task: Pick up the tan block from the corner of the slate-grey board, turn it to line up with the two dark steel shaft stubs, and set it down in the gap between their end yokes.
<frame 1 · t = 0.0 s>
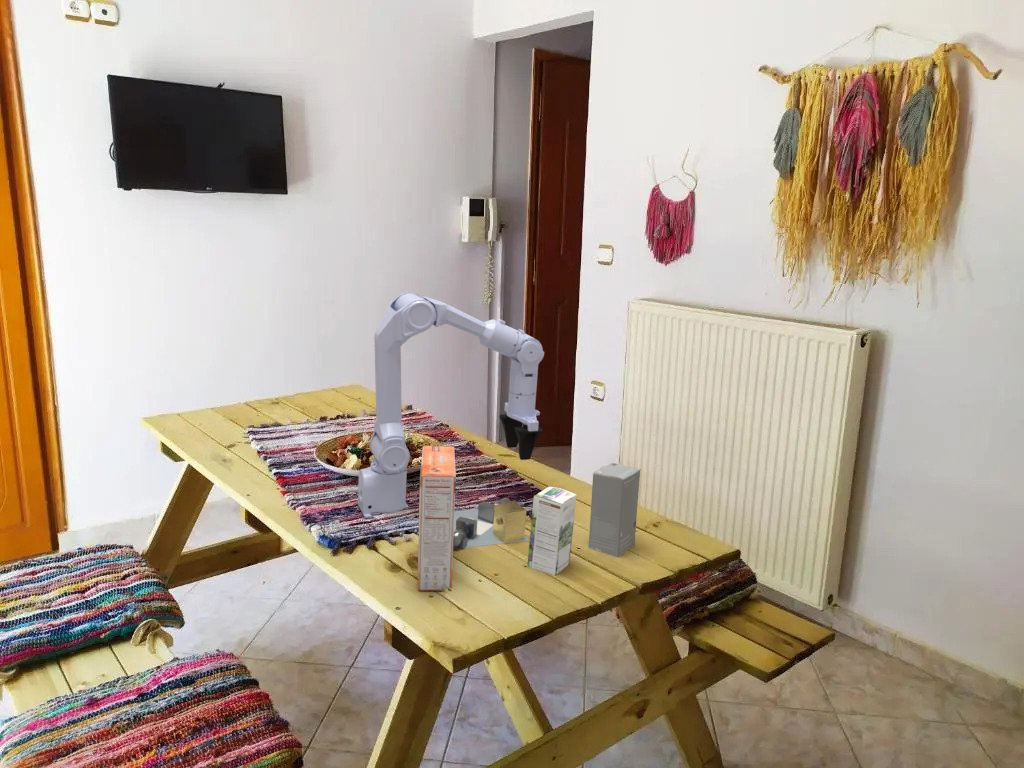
hand: (518, 453, 171), 10 cm above the table, tool pointing down, fingers open, 7 cm apart
tan block: (508, 536, 152), point 1 cm above the table, touching board
syrup box: (548, 570, 142), on the table
cracker box: (434, 573, 139), on the table
shaft a: (460, 533, 148), on the board, point 2 cm above the table
shaft b: (496, 508, 161), on the board, point 2 cm above the table
board: (476, 530, 156), on the table
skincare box: (610, 548, 152), on the table
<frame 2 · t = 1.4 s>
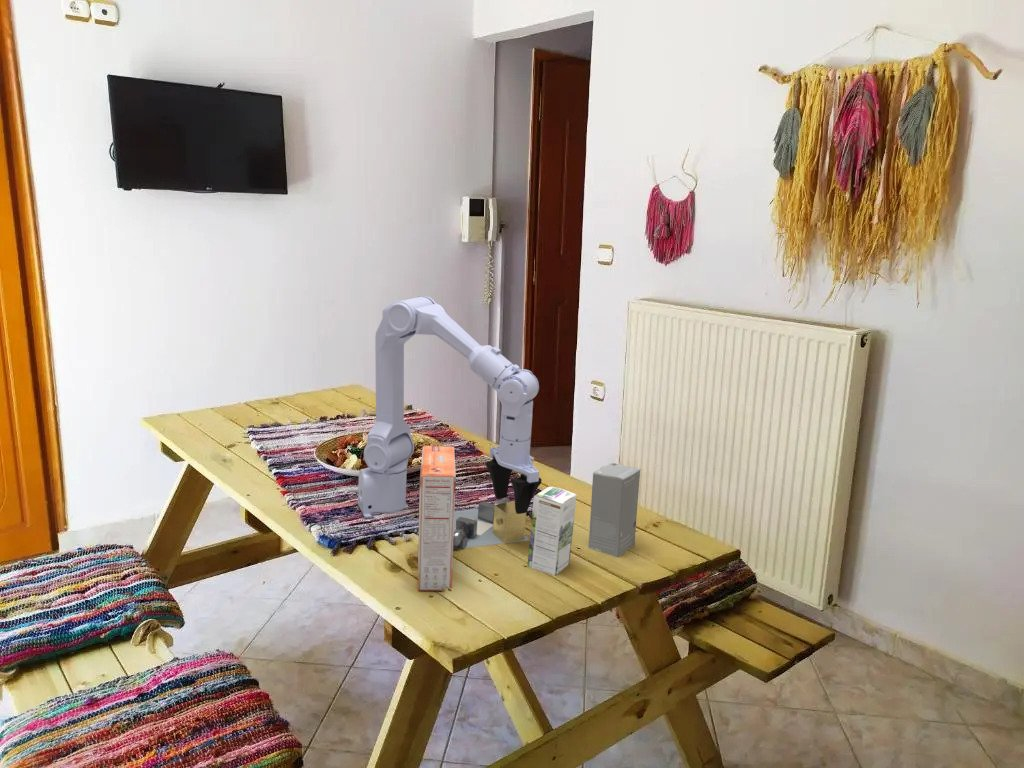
hand: (510, 505, 151), 7 cm above the table, tool pointing down, fingers open, 7 cm apart
nothing on the table moved.
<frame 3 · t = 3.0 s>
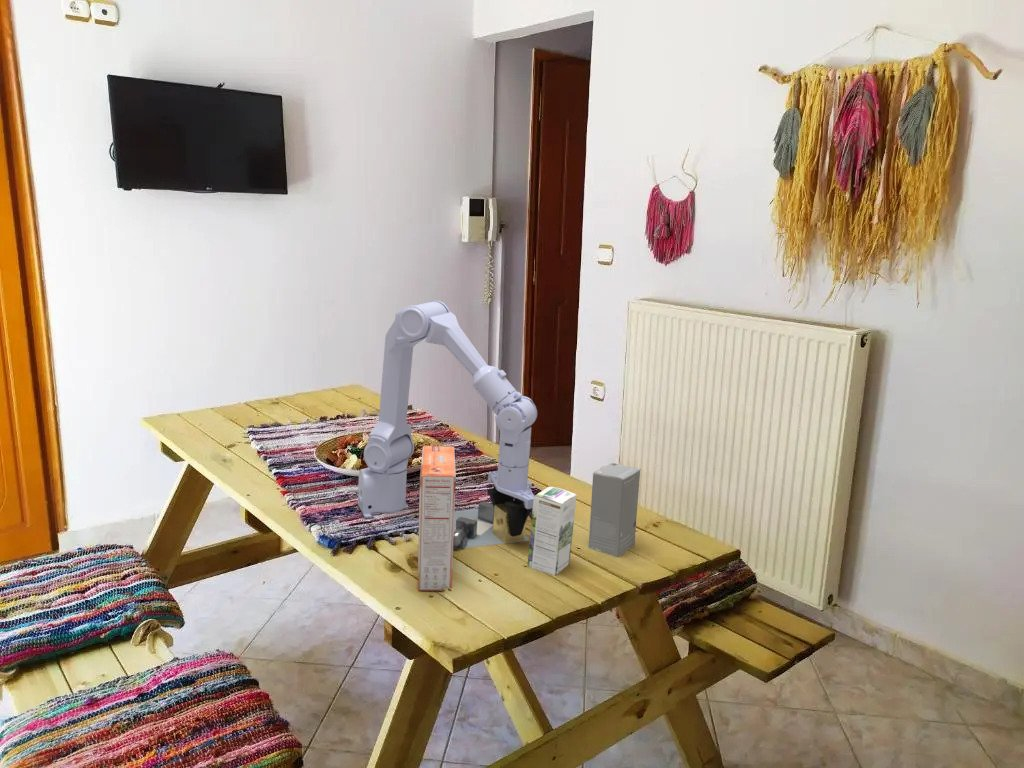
hand: (508, 529, 152), 2 cm above the table, tool pointing down, fingers closed on tan block, 4 cm apart
tan block: (508, 536, 152), point 1 cm above the table, touching board, gripper
everything else where it was.
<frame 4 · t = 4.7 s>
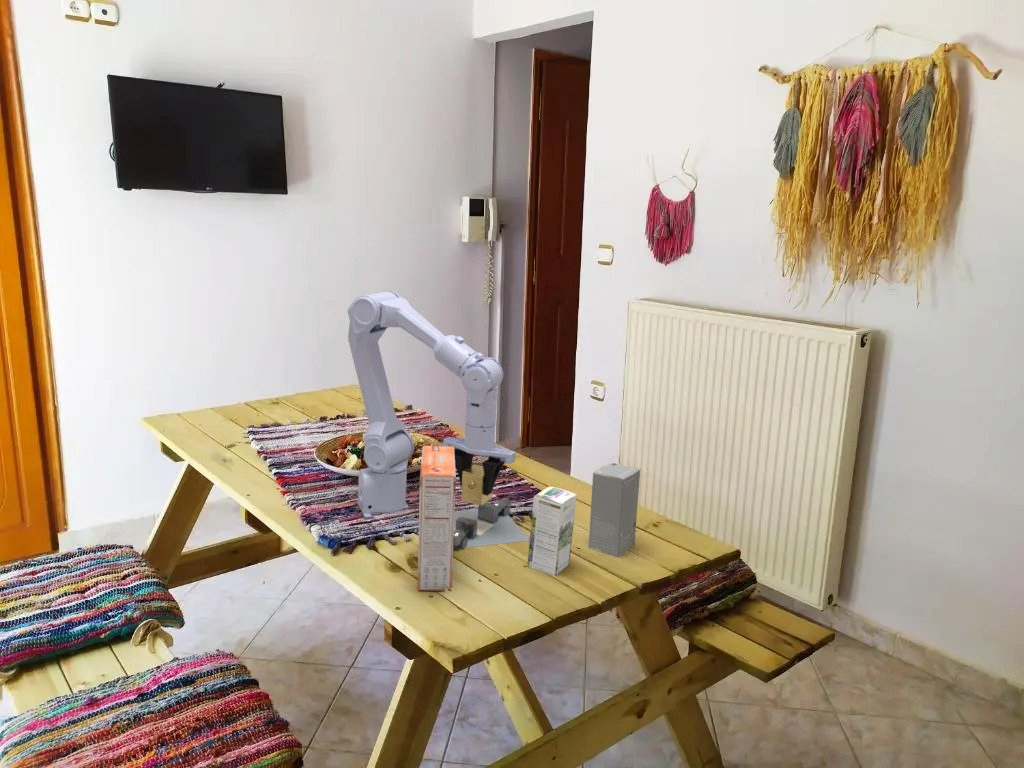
hand: (476, 490, 154), 8 cm above the table, tool pointing down, fingers closed on tan block, 4 cm apart
tan block: (476, 499, 154), point 7 cm above the table, touching gripper
everything else where it was.
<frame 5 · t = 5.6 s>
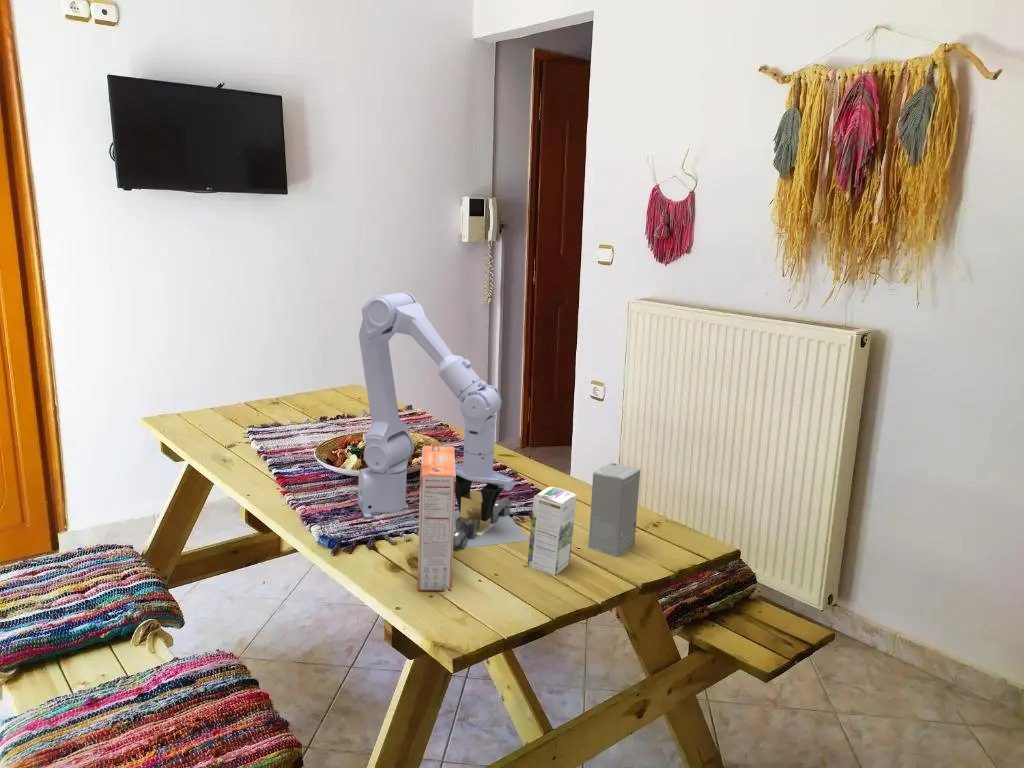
hand: (475, 516, 155), 3 cm above the table, tool pointing down, fingers closed on tan block, 4 cm apart
tan block: (475, 524, 156), point 1 cm above the table, touching gripper
everything else where it was.
when the fingers open (3 cm above the table, at t = 6.4 s): tan block stays where it is, resting on board.
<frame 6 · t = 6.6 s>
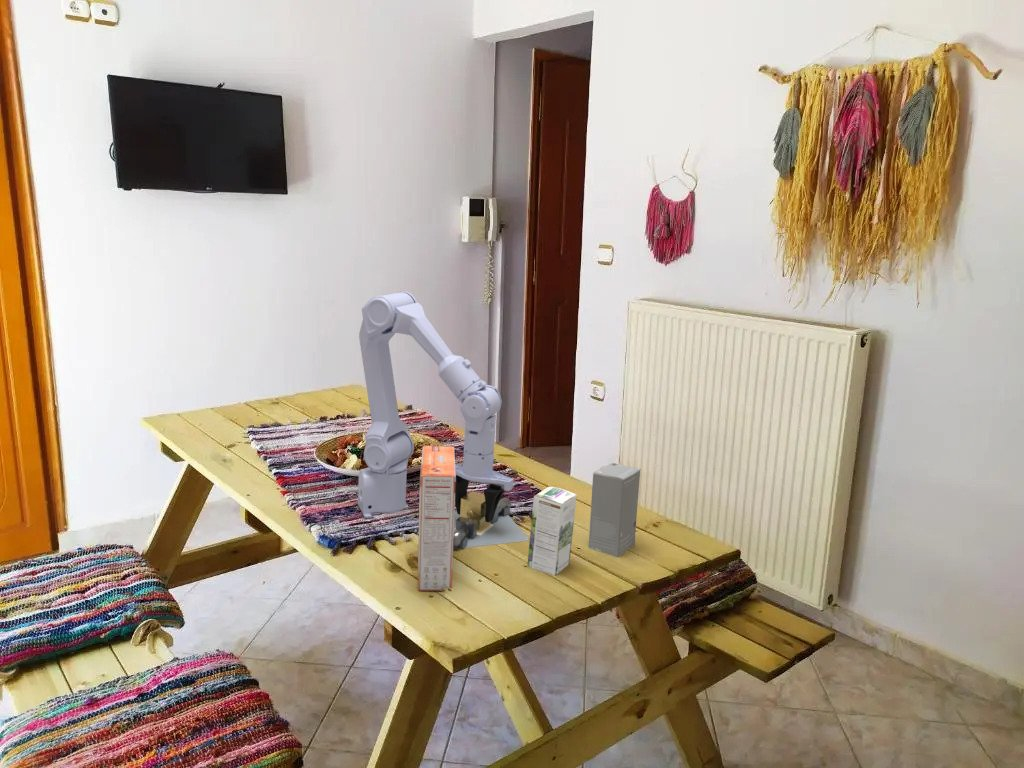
hand: (475, 516, 155), 3 cm above the table, tool pointing down, fingers open, 6 cm apart
tan block: (475, 526, 156), point 1 cm above the table, touching board
everything else where it was.
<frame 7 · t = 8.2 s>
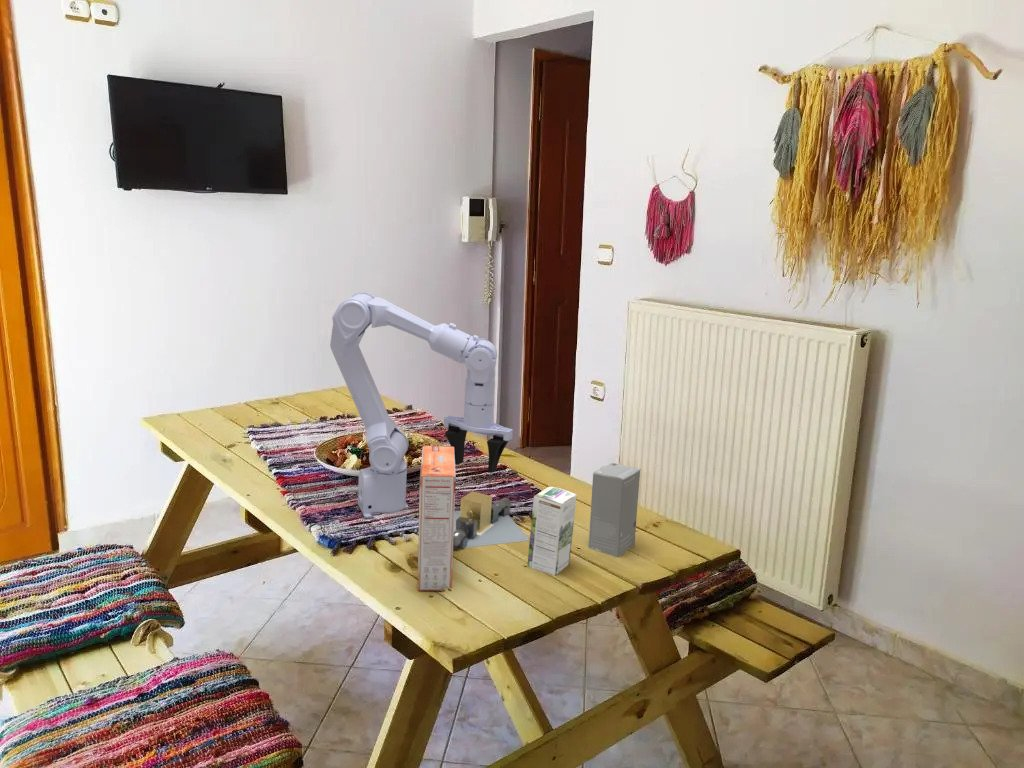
hand: (475, 467, 160), 10 cm above the table, tool pointing down, fingers open, 7 cm apart
nothing on the table moved.
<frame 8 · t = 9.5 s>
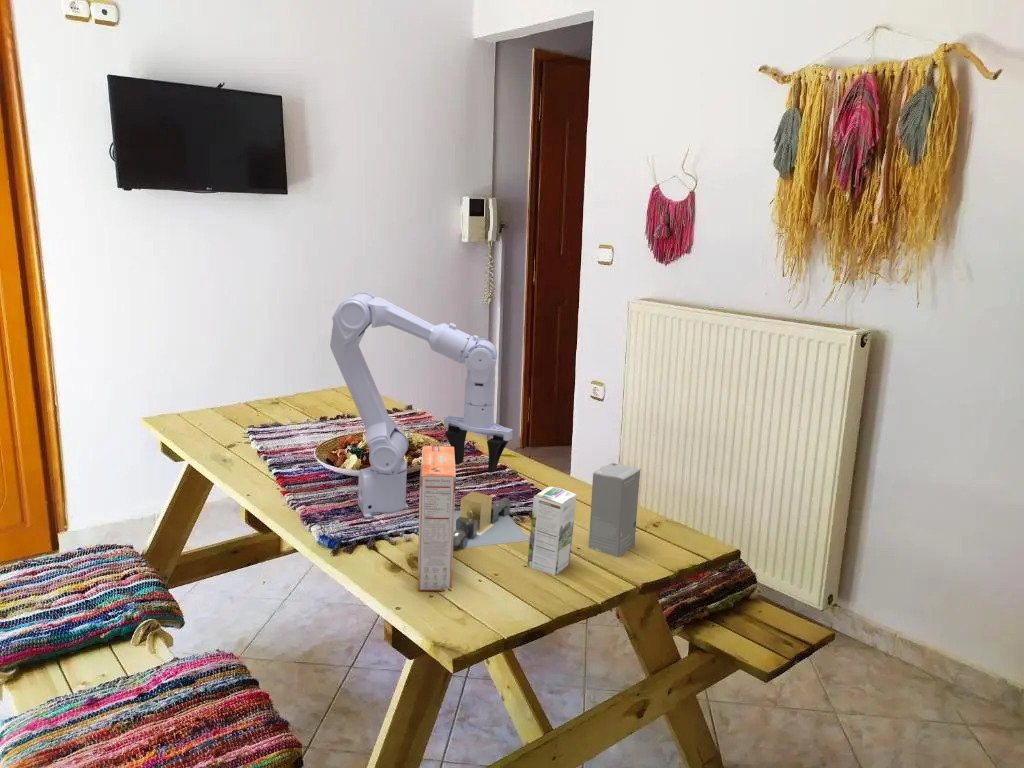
hand: (475, 467, 160), 10 cm above the table, tool pointing down, fingers open, 7 cm apart
nothing on the table moved.
at the end: tan block 0.2 cm from the target spot, point 0.9 cm above the table; tan block tilted 0°; the gripper is holding nothing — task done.
